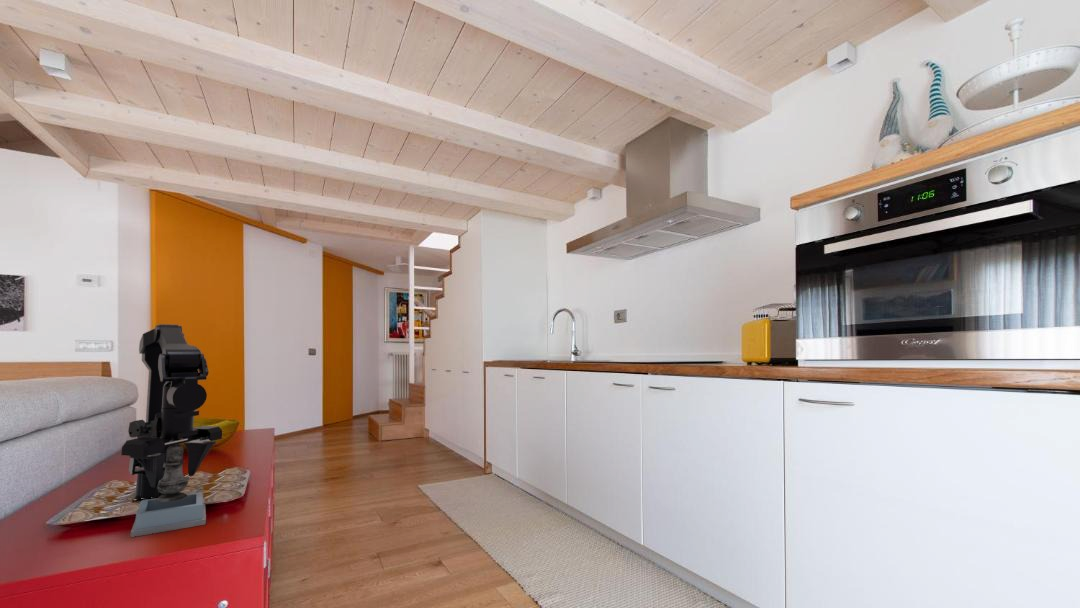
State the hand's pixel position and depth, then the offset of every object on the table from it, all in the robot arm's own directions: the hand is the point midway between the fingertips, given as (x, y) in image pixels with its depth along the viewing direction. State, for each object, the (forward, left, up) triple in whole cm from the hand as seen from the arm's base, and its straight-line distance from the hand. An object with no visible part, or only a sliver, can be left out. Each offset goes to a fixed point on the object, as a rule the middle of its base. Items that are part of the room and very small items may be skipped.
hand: (173, 481), depth 102 cm
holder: (0, 0, -8) cm, 8 cm away
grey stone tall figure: (0, 0, -4) cm, 4 cm away
